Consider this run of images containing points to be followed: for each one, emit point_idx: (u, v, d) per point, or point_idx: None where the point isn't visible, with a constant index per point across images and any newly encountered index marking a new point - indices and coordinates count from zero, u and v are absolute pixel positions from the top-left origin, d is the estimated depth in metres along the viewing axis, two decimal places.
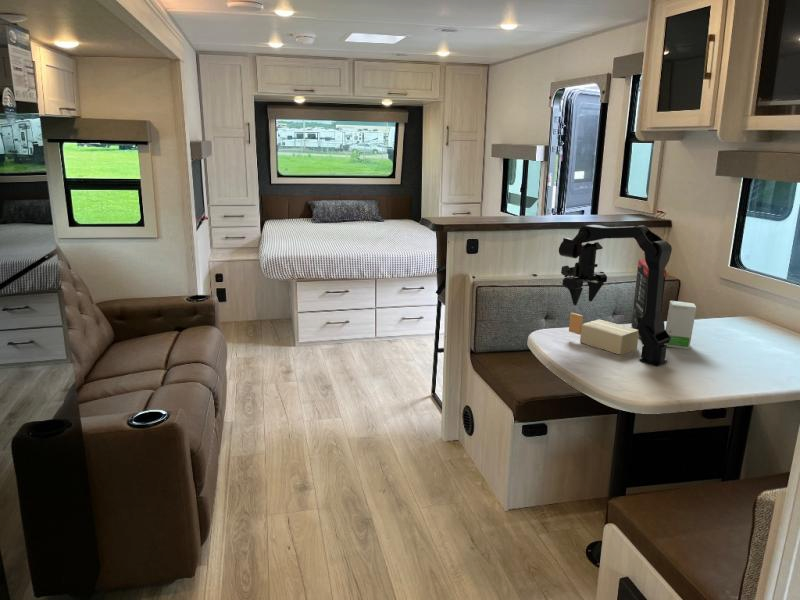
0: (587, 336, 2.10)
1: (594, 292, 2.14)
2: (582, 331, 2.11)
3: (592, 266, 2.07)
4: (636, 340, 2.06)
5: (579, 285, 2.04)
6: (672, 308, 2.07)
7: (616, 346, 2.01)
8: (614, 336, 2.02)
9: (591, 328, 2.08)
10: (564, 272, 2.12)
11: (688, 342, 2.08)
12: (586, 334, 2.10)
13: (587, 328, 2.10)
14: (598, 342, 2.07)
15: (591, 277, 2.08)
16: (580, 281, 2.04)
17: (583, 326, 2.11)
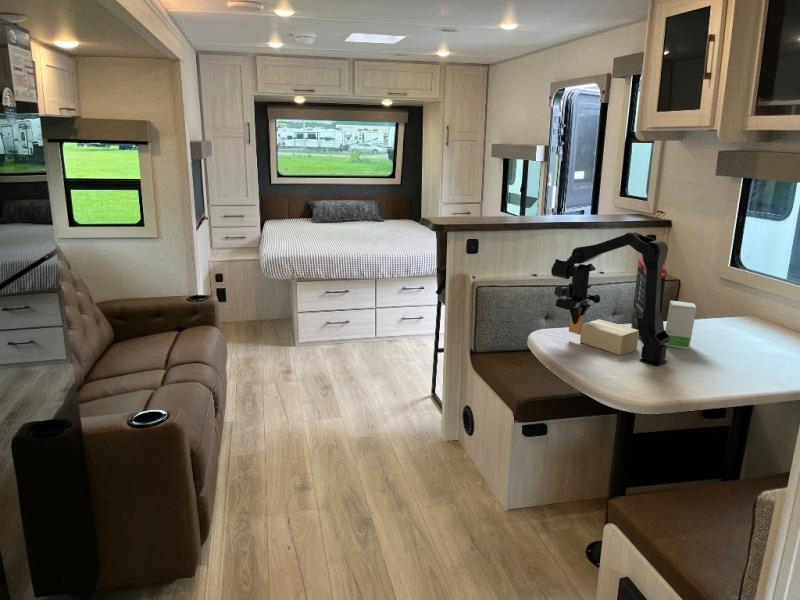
0: (587, 336, 2.10)
1: (581, 314, 2.12)
2: (582, 331, 2.11)
3: (585, 287, 2.07)
4: (636, 340, 2.06)
5: (572, 306, 2.05)
6: (672, 308, 2.07)
7: (616, 346, 2.01)
8: (614, 336, 2.02)
9: (591, 328, 2.08)
10: (557, 293, 2.13)
11: (688, 342, 2.08)
12: (586, 334, 2.10)
13: (587, 328, 2.10)
14: (598, 342, 2.07)
15: (584, 298, 2.08)
16: (573, 302, 2.05)
17: (583, 326, 2.11)
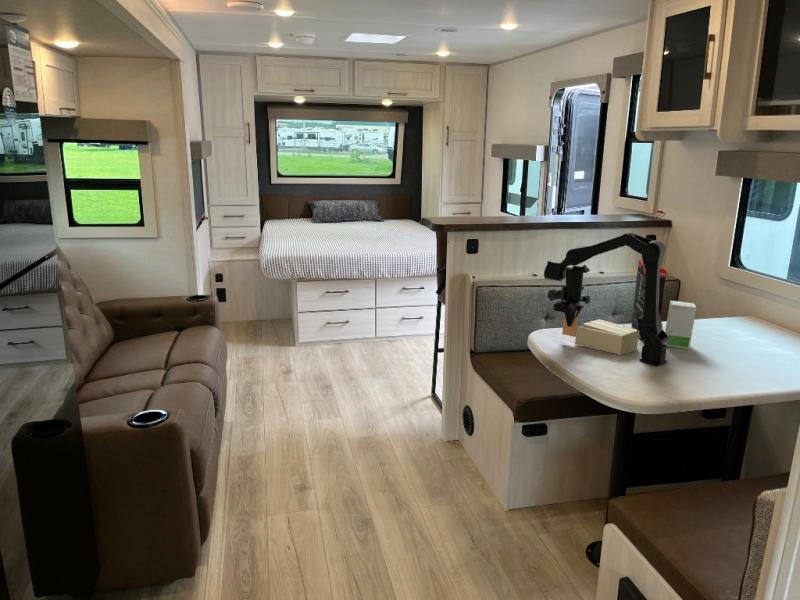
0: (583, 338, 2.08)
1: (575, 316, 2.10)
2: (578, 333, 2.09)
3: (580, 289, 2.05)
4: (636, 340, 2.06)
5: (572, 310, 2.01)
6: (672, 308, 2.07)
7: (616, 346, 2.01)
8: (613, 336, 2.01)
9: (587, 330, 2.06)
10: (551, 296, 2.08)
11: (688, 342, 2.08)
12: (582, 336, 2.08)
13: (583, 330, 2.07)
14: (595, 343, 2.05)
15: (579, 300, 2.06)
16: (572, 305, 2.01)
17: (578, 328, 2.08)
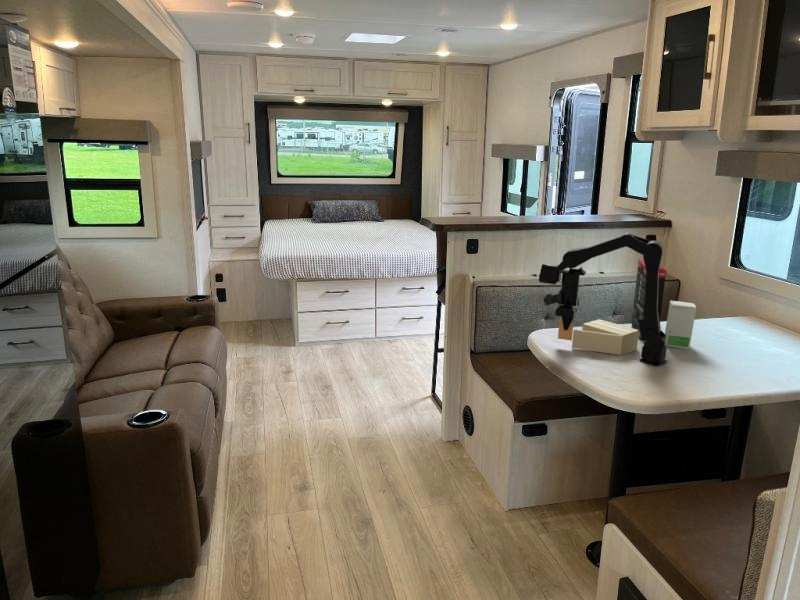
0: (581, 341, 2.05)
1: None
2: (575, 337, 2.05)
3: (577, 291, 2.01)
4: (636, 340, 2.06)
5: (574, 313, 1.96)
6: (672, 308, 2.07)
7: (616, 347, 2.01)
8: (613, 337, 2.00)
9: (585, 332, 2.04)
10: (549, 301, 2.02)
11: (688, 342, 2.08)
12: (579, 339, 2.05)
13: (580, 333, 2.04)
14: (594, 345, 2.03)
15: (576, 303, 2.02)
16: (574, 309, 1.97)
17: (575, 331, 2.05)
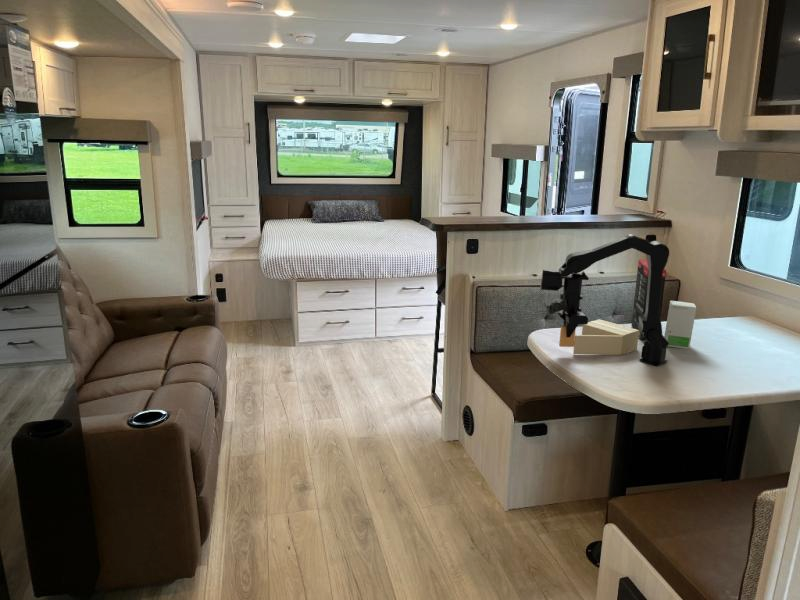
0: (582, 346, 2.00)
1: None
2: (577, 343, 1.99)
3: None
4: (636, 340, 2.06)
5: None
6: (672, 308, 2.07)
7: (616, 347, 2.00)
8: (614, 338, 1.99)
9: (587, 337, 1.99)
10: (556, 309, 1.92)
11: (688, 342, 2.08)
12: (581, 344, 2.00)
13: (582, 338, 1.99)
14: (596, 348, 2.00)
15: None
16: None
17: (577, 337, 1.99)
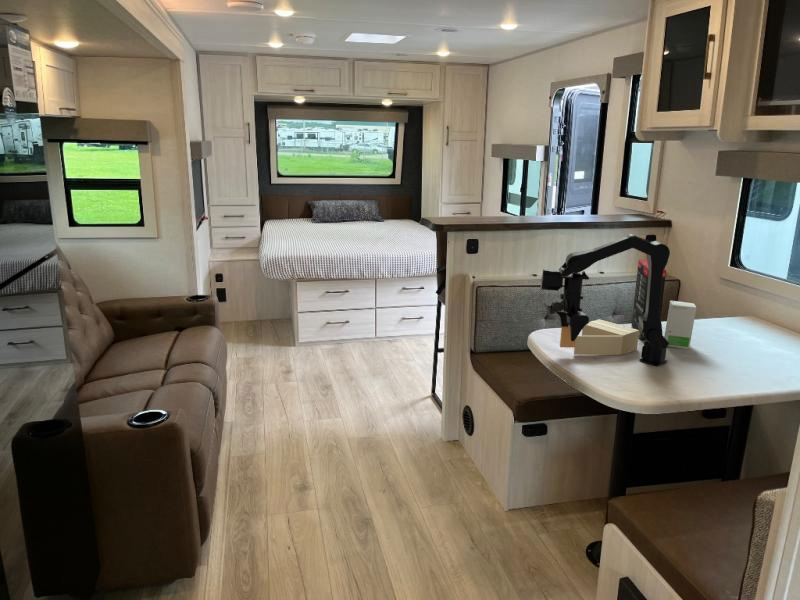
0: (583, 346, 1.99)
1: (568, 322, 2.02)
2: (577, 343, 1.99)
3: None
4: (636, 340, 2.06)
5: None
6: (672, 308, 2.07)
7: (616, 347, 2.00)
8: (614, 338, 1.99)
9: (588, 337, 1.99)
10: (557, 309, 1.91)
11: (688, 342, 2.08)
12: (581, 345, 1.99)
13: (583, 338, 1.99)
14: (596, 349, 2.00)
15: None
16: None
17: (578, 337, 1.98)
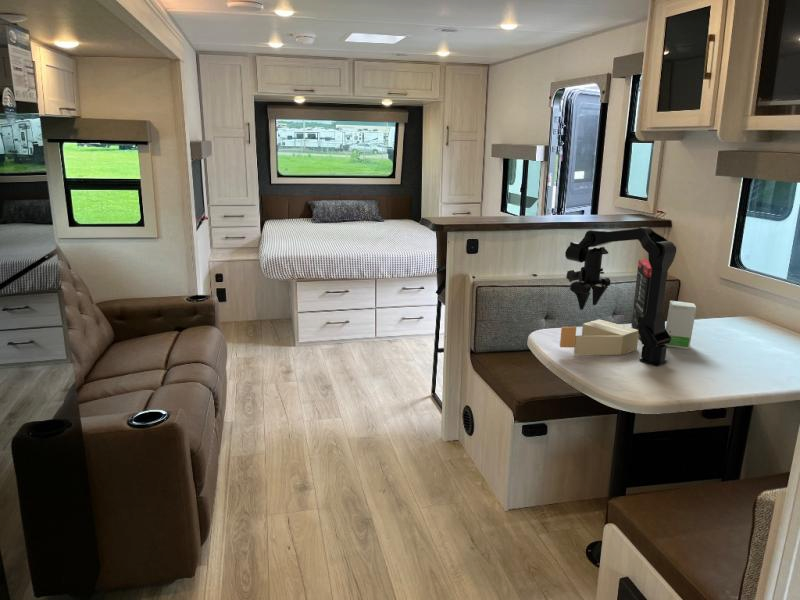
0: (583, 346, 1.99)
1: (598, 296, 2.15)
2: (577, 343, 1.99)
3: (598, 270, 2.08)
4: (636, 340, 2.06)
5: (587, 290, 2.05)
6: (672, 308, 2.07)
7: (616, 347, 2.00)
8: (614, 338, 1.99)
9: (588, 337, 1.99)
10: (570, 277, 2.12)
11: (688, 342, 2.08)
12: (581, 345, 1.99)
13: (583, 338, 1.99)
14: (596, 349, 2.00)
15: (597, 281, 2.09)
16: (588, 286, 2.05)
17: (578, 337, 1.98)
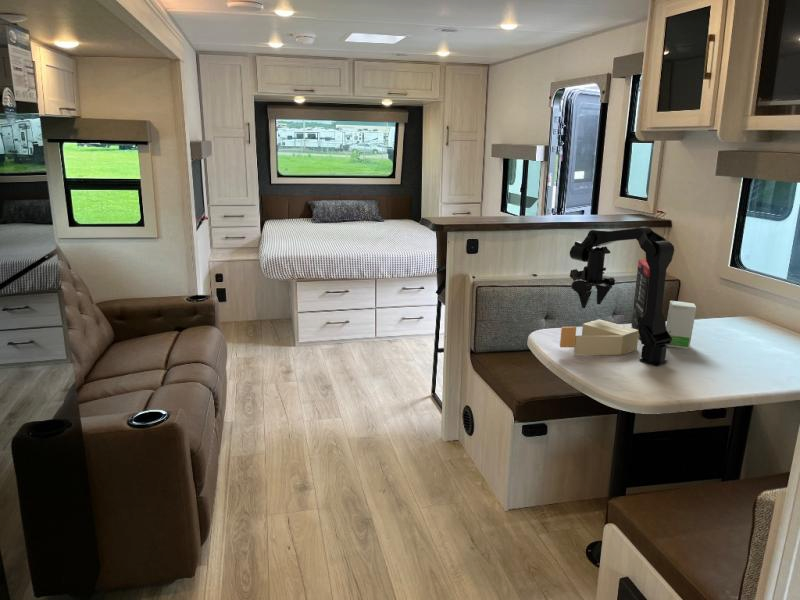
0: (583, 346, 1.99)
1: (602, 295, 2.17)
2: (577, 343, 1.99)
3: (601, 270, 2.10)
4: (636, 340, 2.06)
5: (588, 289, 2.07)
6: (672, 308, 2.07)
7: (616, 347, 2.00)
8: (614, 338, 1.99)
9: (588, 337, 1.99)
10: (573, 276, 2.15)
11: (688, 342, 2.08)
12: (581, 345, 1.99)
13: (583, 338, 1.99)
14: (596, 349, 2.00)
15: (600, 281, 2.11)
16: (589, 285, 2.07)
17: (578, 337, 1.98)
